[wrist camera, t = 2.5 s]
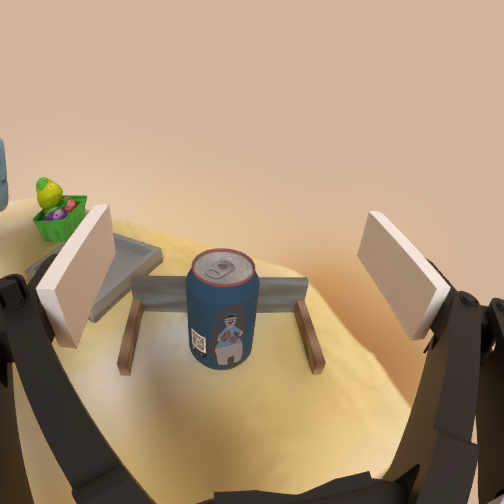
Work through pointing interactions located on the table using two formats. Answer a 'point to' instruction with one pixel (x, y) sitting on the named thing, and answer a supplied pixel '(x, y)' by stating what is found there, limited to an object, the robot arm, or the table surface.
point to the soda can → (221, 307)
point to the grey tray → (117, 271)
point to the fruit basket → (57, 211)
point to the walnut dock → (175, 300)
